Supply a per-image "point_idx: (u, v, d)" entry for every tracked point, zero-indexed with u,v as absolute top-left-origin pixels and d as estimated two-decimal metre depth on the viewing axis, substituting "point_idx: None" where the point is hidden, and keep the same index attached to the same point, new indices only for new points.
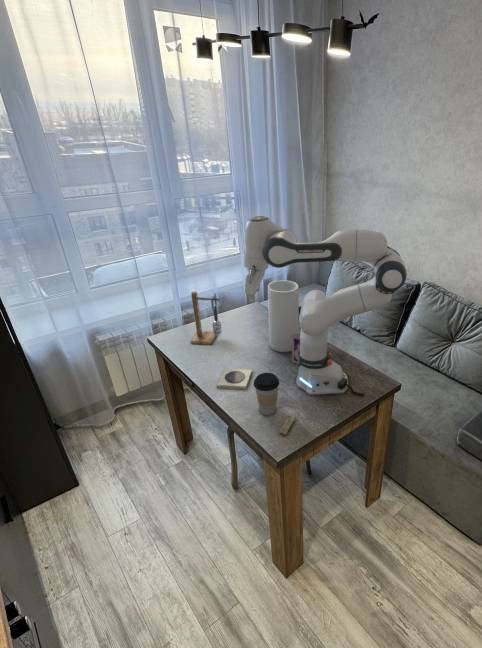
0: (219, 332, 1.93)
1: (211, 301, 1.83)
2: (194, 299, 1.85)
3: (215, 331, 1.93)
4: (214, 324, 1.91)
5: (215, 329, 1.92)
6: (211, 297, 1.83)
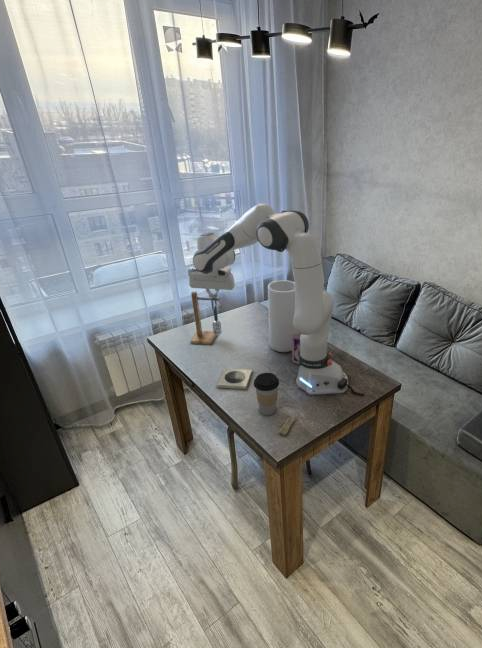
0: (219, 332, 1.93)
1: (211, 301, 1.83)
2: (194, 299, 1.85)
3: (215, 331, 1.93)
4: (214, 324, 1.91)
5: (215, 329, 1.92)
6: (211, 297, 1.83)
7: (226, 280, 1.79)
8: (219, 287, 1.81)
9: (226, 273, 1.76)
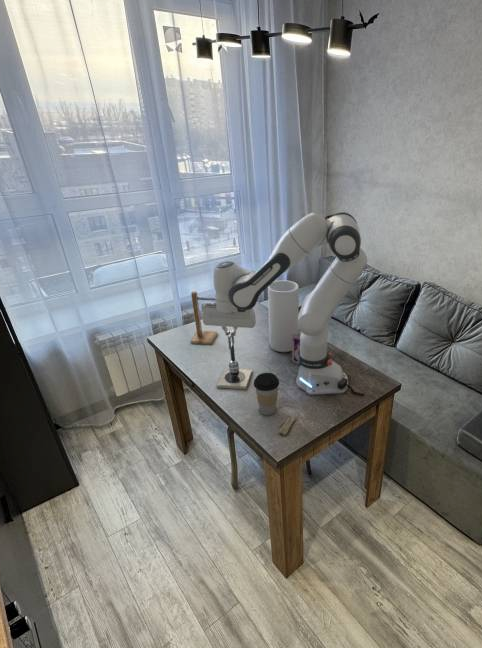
0: (236, 374, 1.66)
1: (228, 340, 1.56)
2: (194, 299, 1.85)
3: (232, 373, 1.65)
4: (231, 365, 1.64)
5: (232, 371, 1.65)
6: (228, 335, 1.56)
7: (246, 317, 1.52)
8: (238, 325, 1.54)
9: (247, 309, 1.49)
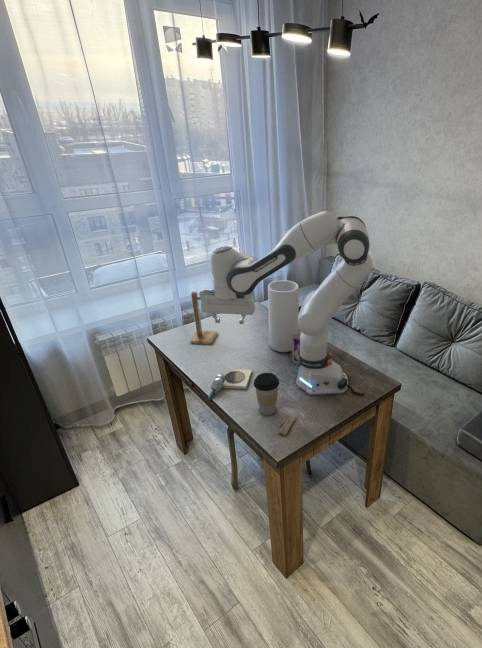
0: (223, 379, 1.62)
1: None
2: (194, 299, 1.85)
3: (223, 383, 1.63)
4: (218, 390, 1.61)
5: (222, 385, 1.62)
6: None
7: (245, 303, 1.49)
8: (237, 312, 1.51)
9: (246, 295, 1.46)
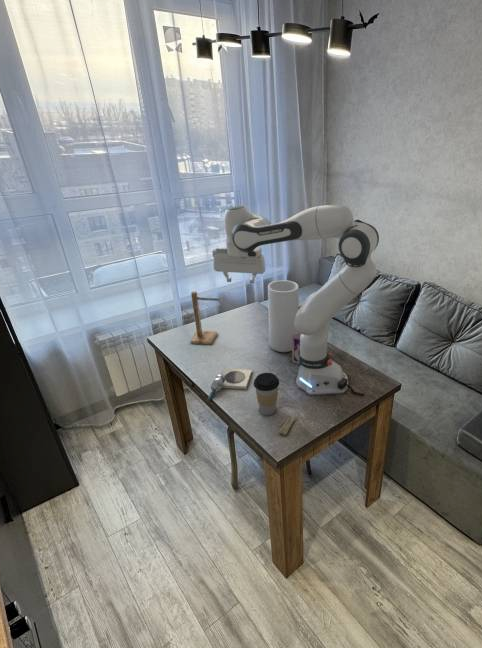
0: (223, 379, 1.62)
1: None
2: (194, 299, 1.85)
3: (223, 383, 1.63)
4: (218, 390, 1.61)
5: (222, 385, 1.62)
6: None
7: (256, 262, 1.55)
8: (248, 270, 1.57)
9: (257, 254, 1.52)
